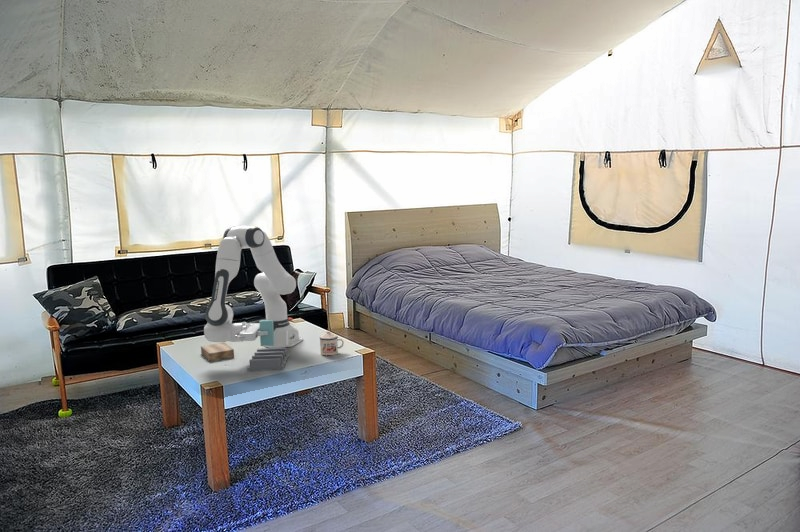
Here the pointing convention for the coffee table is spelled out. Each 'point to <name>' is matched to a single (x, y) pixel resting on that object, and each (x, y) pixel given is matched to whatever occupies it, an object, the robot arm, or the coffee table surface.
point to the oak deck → (217, 351)
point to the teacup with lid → (329, 344)
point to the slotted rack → (268, 359)
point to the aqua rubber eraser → (268, 339)
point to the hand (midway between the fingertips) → (268, 331)
